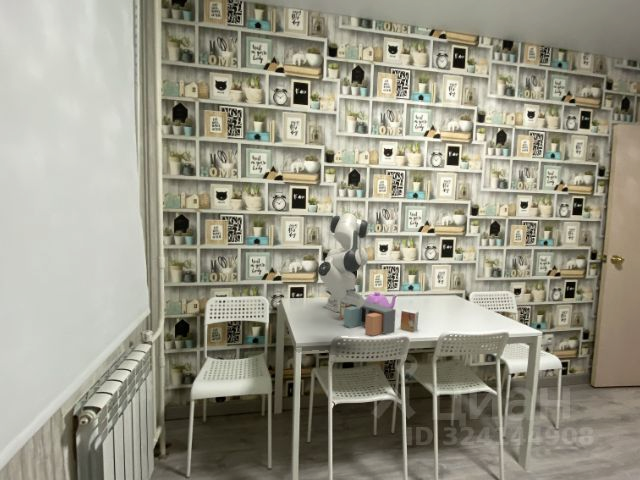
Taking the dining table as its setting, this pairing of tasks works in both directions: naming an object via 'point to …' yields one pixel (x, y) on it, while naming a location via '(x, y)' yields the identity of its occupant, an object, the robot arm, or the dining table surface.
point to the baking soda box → (343, 309)
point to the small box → (409, 320)
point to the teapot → (381, 300)
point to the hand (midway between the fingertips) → (353, 305)
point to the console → (388, 313)
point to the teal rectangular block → (352, 316)
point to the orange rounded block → (374, 323)
